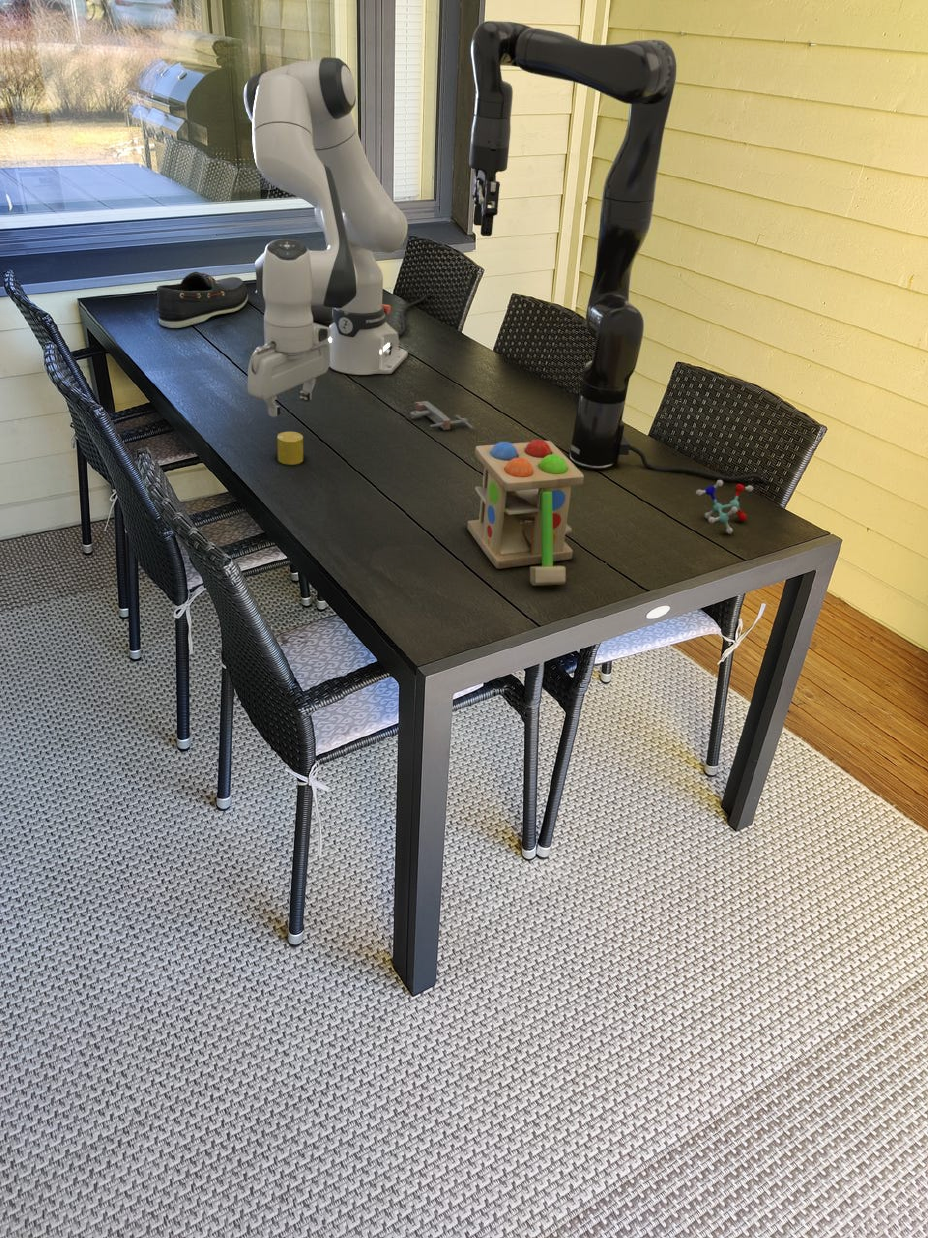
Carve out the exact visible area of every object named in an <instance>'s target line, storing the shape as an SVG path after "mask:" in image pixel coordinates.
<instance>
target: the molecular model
mask: <svg viewBox="0 0 928 1238" xmlns="http://www.w3.org/2000/svg"><path fill="white" fill-rule="evenodd" d="M723 485H724V480H719V479H717V481H716V484H714V485H713V486H711V485H709V486H707V487H706V488H705V489H703V490H702V489H697V490H695V495H696V496H697V497H701V496H702V495H703V494H706V495H708V496H710V497H711V500H712V502H713V506H712V510H711V511H709V512H705V513H704V518H705V519H707V520H708V523H709V524H715V522H718V521H719V522H720V523H722V524H723V525H724V526H725V528H726V529H725V533H726V534H728V535H730V534H732V533H733V528H732V527H730V524H729V523H728V521H729V518H730V516H731V515H732V514H736V515H737V519H738V521H740V522H745V521H746V520H747V518H748V516H747V514H746V513H744V512H743V510H742V509H741V508H740V502H739V501H738V500H739V497H740V494H741V493H742V492H743V491H747V492H748V493H750V492H753V490H754V487H753V485H749V484H748V485H747V486H744V485H743V484H741V483H737V484H736V485H735V487H734V489H735V492H736V493H735V494H734V495H735V496H734V498H733V499H732V500H730V502H729V503H728V504H722V503H720V502H718V500H717V499H716V496H715V492H716V489H717V488H718V487H723ZM728 508H730V510H729V511H728V512H723V509H728ZM715 513H717V514H719V515H718V516H717V517H714V516H712V515H713V514H715Z"/></svg>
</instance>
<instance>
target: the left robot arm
mask: <svg viewBox="0 0 928 1238" xmlns="http://www.w3.org/2000/svg"><path fill="white" fill-rule="evenodd" d="M356 100H357V94H356V83H355V80H354V77H353V75H352V71H351V69H350V67H349V65H348V64H347V63H346V62H345V61H343V60H342V59H341V58H339V57H331V56H328V57H322V58H320V59H309V60H302V61H301V60H300V61H296V62H291V63H290V64H287V65H283V66H280V67H276V68H273V69H271V70H268V71H260V72H258V73H255V74H254V75H252V76H250V77H249V78H248V80H247V81H246V84H245V86H244V89H243V102H244V107H245V110H246V114H247V116H248V119H249V120H250V121H251V123H252V148H253V156H254V162H255V165H256V168H257V171H258V172H259V173H260V174H261V176H262V177H263V178H264V179H265V180H266V181H267V182H268V183H270V185H272V186H274V187H275V188H277V189H278V190H280V191H283V192H285V193H288V194H290V195H292V196H296V197H297V198H299V199H301V200H304V201H305V202H307V203H308V204H310V205H312V207H314V217H315V220H316V223H317V224H318V226H319V227H320V229H321V230H322V232H323V236H324V241H325V246H326V249H325V250H309V248H308V246H307V245H306V243H303V242H301V241H300V240H296V239H293V238H277V239H274V240H271V241H269V243H267V244H266V246H265V248H264V252H263V253H262V254H261V255H260V256H259V257H258V258H257V259H256V260H255V262H254V270H255V281H256V282H255V283H256V291H255V294H257V296H258V298H260V299H261V300H262V301H263V302H264V313H263V337H264V340H263V341H264V345H262V346H258V347H256V348H255V349H254V352H253V353H252V355H251V356H250V360H249V363H248V368H247V369H248V370H247V393H248V394H249V396H251V397H252V398H254V399H257V400H261V401H264V403H265V405H266V407H267V414H268V416H270V417H273V418H275V417H278V416H280V415H281V405H277V403H276V400H277V399H278V395H280V394H282V393H285V392H287V391H289V390H291V389H293V388H296V387H297V386H300V385H302V384H303V385H302V389H301V391H300V390H299V400H300V401H301V402H304V403H307V402H309V401H311V400H312V396H313V395H312V394H313V390H314V388H315V385H316V383H317V379H316V378H318V377H321V376H322V375H325V374H326V373H328V370H329V369H332V370H334V371H336V372H339V373H341V374H342V373H343V374H347V375H356V376H369V375H379V374H380V375H389V374H392V373H393V372H394V371H395V370H396V369H397V368H398V367H399V366H400V365H401V364H402V363H403V361H405V360H406V359H407V357H408V356H409V354H408V353H409V351H407V350H405V349H403V348H401V347H399V345H400V344H399V343H400V342H399V341H400V340H399V339H400V337H401V336H402V335H403V334H404V333H405V332H406V330H407V326H406V319H405V314H406V312H407V310H408V309H409V308H411V307H413V306H415V305H417V304H420V303H422V302H423V301H425V300H426V299H427V298H428V297H427V295H426V294H425V295H423V296H422V297H421V298H419V299H418V300H415V301H413V302H410V303H408V304H407V305H406V306H404V307H403V309H402V312H401V322H402V329H401V331H399V332H398V331H397V330H396V329H394V328H393V327H392V326H391V325H390V324H389V323H388V322H387V319H386V314H387V315H388V314H391V308H392V306H391V305H390V304H385V303H383V292H384V290H383V288H384V275H383V271H382V269H381V267H380V266H379V264H378V262H377V261H376V258H375V256H374V253H380V254H390V253H394V252H396V251H397V250H399V249H400V248H401V247H402V245H403V244H404V242H405V240H406V239H407V234H408V220H407V217H406V215H405V213H404V212H403V211H402V210H401V209H400V208H399V207H398V206H397V205H396V204H395V203H394V201H393V200H392V199H391V198H390V197H389V194H388V193H387V192H386V190H385V189H384V187H383V185H382V184H381V182H380V181H379V179H378V177H377V176H376V174H375V172H374V170H373V169H372V167H371V165H370V163H369V160H368V158H367V155H366V153H365V150H364V147H363V144H362V141H361V138H360V137H359V132H358V130H357V127H356V124H355V121H354V118H353V115H352V114H351V112H352V110H353V109H354V107H355V105H356ZM429 297H430V298H431V299H432V298H434V295H432V296H431V295H430V296H429ZM311 305H320V306H324V307H333V311H332V314H333V320H332V323H331V324H330V325H329V326H325V325H323V324H319V323H317V322H314V321H313V315H312V312H311ZM265 306H266V308H265Z"/></svg>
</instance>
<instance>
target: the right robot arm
mask: <svg viewBox="0 0 928 1238" xmlns="http://www.w3.org/2000/svg"><path fill="white" fill-rule="evenodd" d="M470 58H471V66H472V72H473V73H472V74H473V80H474V86H475V98H474V108H473V109H474V112H473V120H472V123H471V130H470V142H469V143H470V144H469V156H468V166H469V167H470V169H473V170H474V171H473V172H474V175H473V185H472V195H471V198H472V203H473V205H474V206H473V217H472V223H473V225H474V226H478V227H480V235H481V236H482V237H491V236H492V235H493V229H494V228H493V227H494V217H495V216H497V215H498V213H499V210H498V209H499V197H500V187H501V183H500V181H498V180H497V173H502V172H505V171H506V170H507V169H508V162H509V154H510V153H509V152H510V141H511V134H512V133H511V131H512V129H511V127H512V126H511V122H512V121H511V120H512V119H511V117H512V110H513V109H512V108H513V99H514V96H513V95H514V89H513V86H512V84H511V83H509V82H507V81H505V80H504V79H503V77H502V68H501V67H503V66H504V67H508V66H509V67H516V68H520V69H521V70H522V71H524V72H526V73H530V74H532V75H537V76H541V77H545V78H551V79H556V80H562V81H568V82H571V83H576V84H578V85H582V86H584V87H588V88H590V89H593V90H595V91H597V92H599V93H601V94H603V95H605V96H608V97H609V98H612V99H614V100H616V101H618V102H621V103H622V104H627V105H629V113H628V120H627V125H626V130H625V134H624V137H623V140H622V142H621V144H620V146H619V149H618V151H617V153H616V155H615V157H614V159H613V161H612V163H611V166H610V168H609V170H608V173H607V175H606V178H605V179H604V184H603V190H602V198H601V205H600V214H599V227H598V228H599V229H598V237H597V245H596V259H595V267H594V273H593V279H592V283H591V288H590V291H589V292H590V293H589V298H588V301H587V306H586V312H585V326H586V329H587V331H588V333H589V334H590V336H591V337H592V338H593V340H595V346H594V351H593V357H592V360H589V361H588V362H586V363H585V364H584V366H583V370H582V375H581V382H580V389H579V396H578V401H577V402H578V403H577V408H576V414H575V420H574V428H573V434H572V441H571V445H570V452H569V456H568V459H569V460H570V461H571V462H572V463H573V464H574V465H575V466H576V467H577V466H578V467H579V468H583V469H587V470H592V471H604V470H609V469H610V468H616V467H618V462H619V457H620V456H628V455H629V452H630V451H632V452H634V453H635V454H637V455H638V456H639V457H640V459H641V462H642V465H643V466H645V467H646V468H647V469H649V470H652V471H659V472H669V473H670V472H671V473H672V472H673V473H675V472H681V473H688V474H694V475H698V476H702V477H705V478H711V479H715V480H722V481H726V482H737V481H743V480H748V479H756V480H758V481H759V482H761V483H762V484H768V481H767V480H766V479H765V478H764V477H763V478H762V479H761V476H762V475H760V474H757V473H747V474H743V475H738V476H728V475H727V476H726V475H720V474H716V473H712V472H706V471H703V470H699V469H694V468H689V467H681V466H673V467H661V466H657V465H656V466H655V465H653V464H651V463H649V462H648V461H647V458H646V456H645V453H643V451H642V450H640V449H639V448H637V447H635V446H634V445H631V444H630V442H629V441H628V440H627V438H626V437H625V435H624V430H625V422H624V421H623V416H624V411H625V406H626V400H627V394H628V388H629V384H630V379H631V377H632V375H633V373H634V372H635V369H636V367H637V364H638V359H639V354H640V351H641V346H642V341H643V337H644V331H645V329H644V328H645V322H644V317H643V314H642V313H641V311H640V310H639V309H638V308H637V307H636V306H635V305H633V304H632V303H630V284H631V275H632V271H633V266H634V264H635V260H636V258H637V256H638V254H639V252H640V250H641V249H642V246H643V244H644V243H645V241H646V238H647V236H648V233H649V231H650V227H651V224H652V219H653V218H652V217H653V211H654V203H655V196H656V185H657V178H658V171H659V165H660V161H661V151H662V144H663V138H664V133H665V128H666V124H667V120H668V116H669V111H670V107H671V102H672V99H673V94H674V90H675V85H676V80H677V71H678V70H677V68H678V65H677V58H676V55H675V52H674V49H673V48H672V47H671V46H670V45H669V43H668V42H666V41H664V40H661V39H647V40H632V41H629V42H626V43H616V44H596V43H589V42H585V41H582V40H580V39H578V38H576V37H574V36H572V35H570V34H566V33H563V32H559V31H554V30H548V29H543V28H536V27H535V28H534V27H531V26H529V25H526V24H523V23H519V22H513V21H502V20H501V21H498V20H497V21H496V20H486V21H483V22H481V23H480V24H478V25H477V27H476V28H475V29H474V32H473V34H472V38H471V42H470ZM489 206H490V207H489Z"/></svg>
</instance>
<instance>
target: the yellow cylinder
mask: <svg viewBox="0 0 928 1238" xmlns="http://www.w3.org/2000/svg"><path fill="white" fill-rule="evenodd" d="M276 438H277V440H276V442H277V461H278V462H279V463H281V464H283V465H289V466H294V465H299V464H301V463H302V462H303V461H304V436H303V435H302V434H301V433H299V432H296V431H284V432H283V431H282V432H280V433H278V434H277V437H276Z"/></svg>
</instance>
